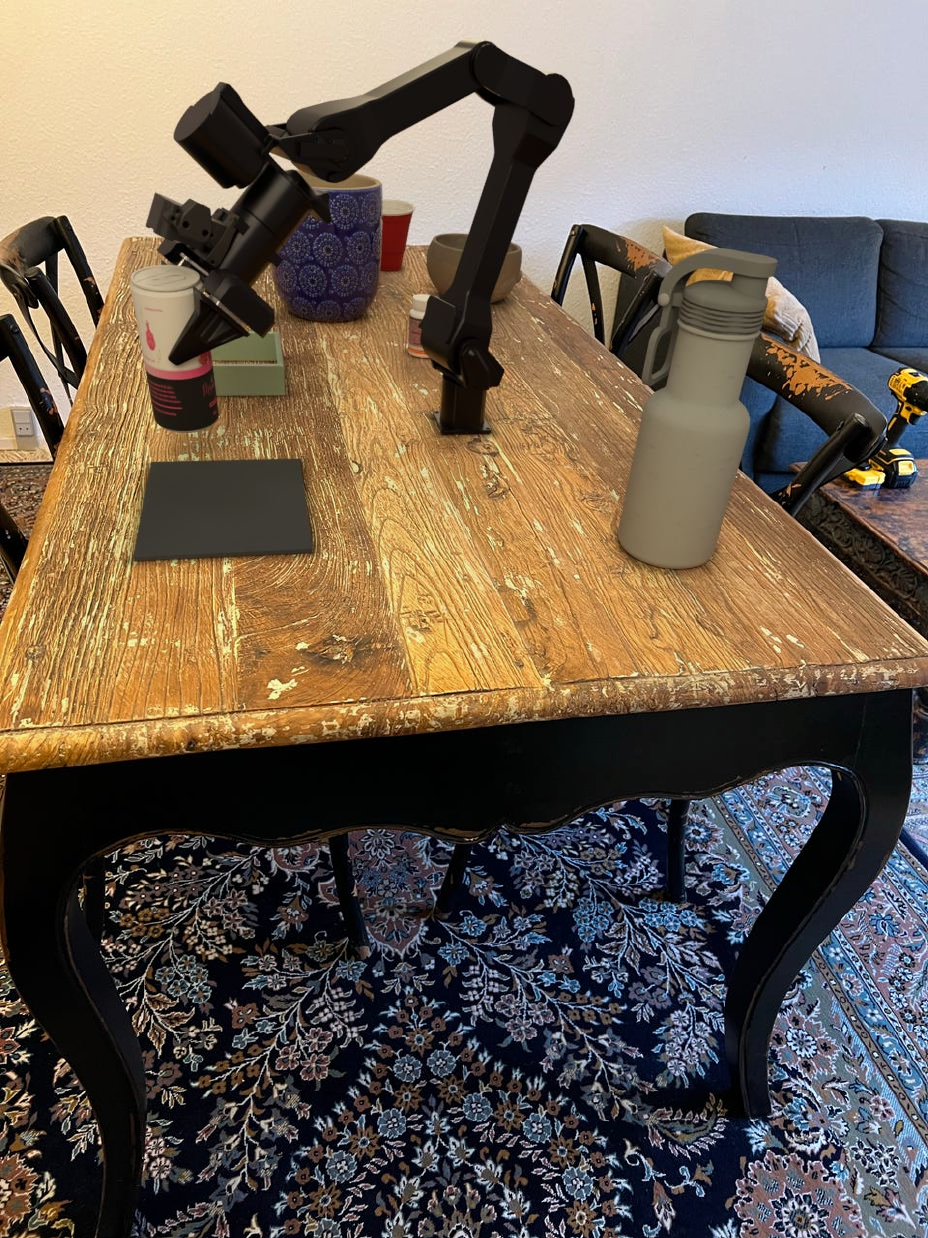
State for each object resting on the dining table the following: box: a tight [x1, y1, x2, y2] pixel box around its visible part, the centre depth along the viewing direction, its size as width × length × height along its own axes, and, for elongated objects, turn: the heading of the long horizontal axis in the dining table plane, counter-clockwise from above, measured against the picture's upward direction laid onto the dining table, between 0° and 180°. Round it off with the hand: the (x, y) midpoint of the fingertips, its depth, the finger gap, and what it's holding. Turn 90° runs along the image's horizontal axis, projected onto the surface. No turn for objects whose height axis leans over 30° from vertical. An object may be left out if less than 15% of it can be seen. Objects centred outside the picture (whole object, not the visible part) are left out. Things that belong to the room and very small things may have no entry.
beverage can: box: [129, 264, 220, 435], centre depth 84 cm, size 6×7×15 cm
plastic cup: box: [380, 198, 416, 272], centre depth 169 cm, size 11×11×12 cm
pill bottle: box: [407, 293, 431, 359], centre depth 127 cm, size 5×5×8 cm
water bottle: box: [617, 247, 779, 570], centre depth 77 cm, size 10×10×28 cm
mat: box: [132, 458, 314, 562], centre depth 85 cm, size 20×16×1 cm
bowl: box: [425, 232, 523, 304], centre depth 155 cm, size 17×18×10 cm
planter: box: [270, 169, 384, 323], centre depth 137 cm, size 18×18×21 cm
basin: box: [211, 330, 286, 397], centre depth 114 cm, size 15×15×4 cm
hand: (161, 351), depth 83 cm, fingers closed on beverage can, 6 cm apart
